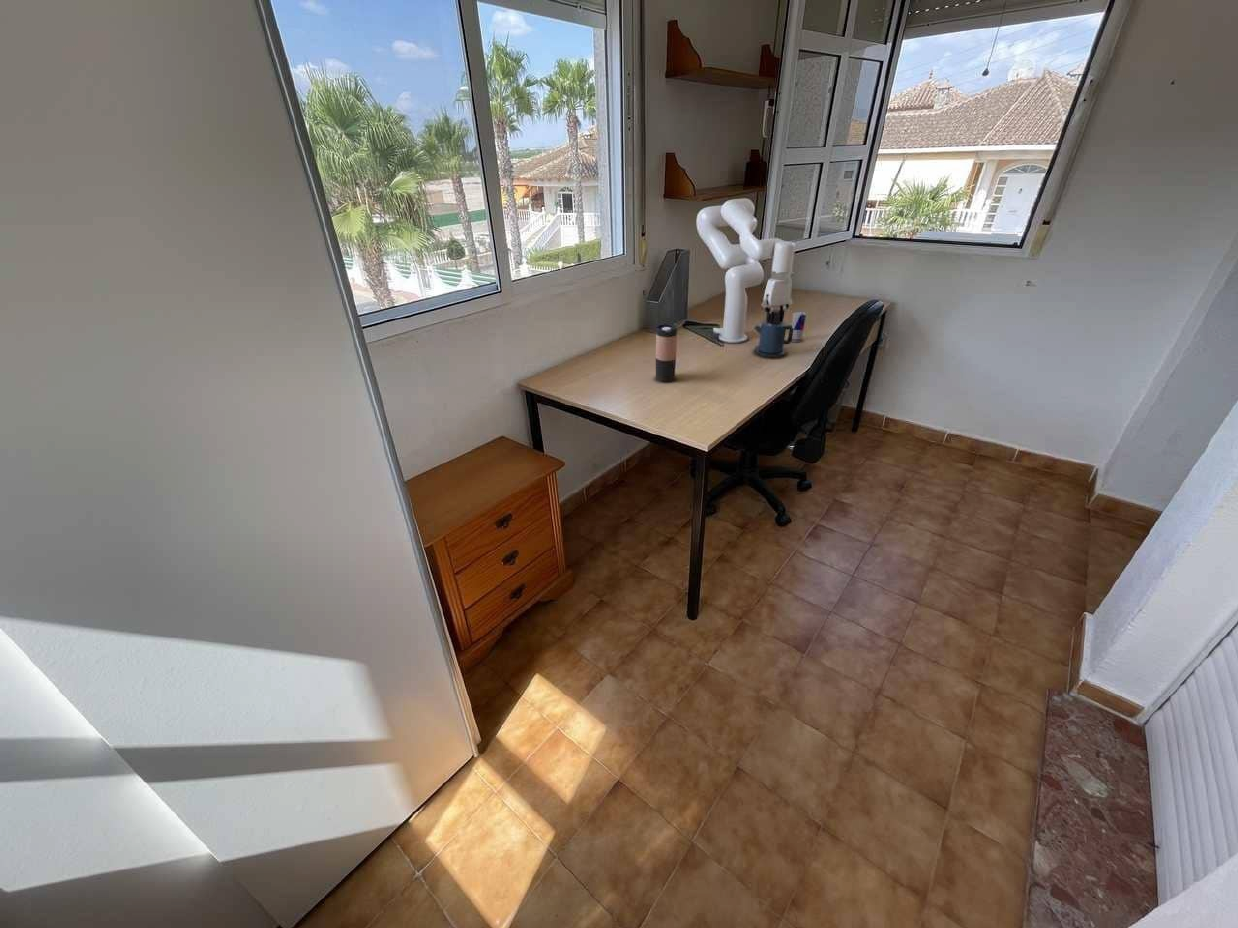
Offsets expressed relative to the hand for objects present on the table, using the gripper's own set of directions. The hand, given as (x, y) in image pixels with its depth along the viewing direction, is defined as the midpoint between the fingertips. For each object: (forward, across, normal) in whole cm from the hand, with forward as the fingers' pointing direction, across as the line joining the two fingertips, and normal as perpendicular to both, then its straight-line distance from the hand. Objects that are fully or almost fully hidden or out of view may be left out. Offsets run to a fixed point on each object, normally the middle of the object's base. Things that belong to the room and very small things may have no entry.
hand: (774, 321), depth 214 cm
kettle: (+12, 0, 0) cm, 12 cm away
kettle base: (+14, 0, 0) cm, 14 cm away
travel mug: (+14, +52, +8) cm, 55 cm away
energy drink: (+14, -20, -10) cm, 26 cm away
